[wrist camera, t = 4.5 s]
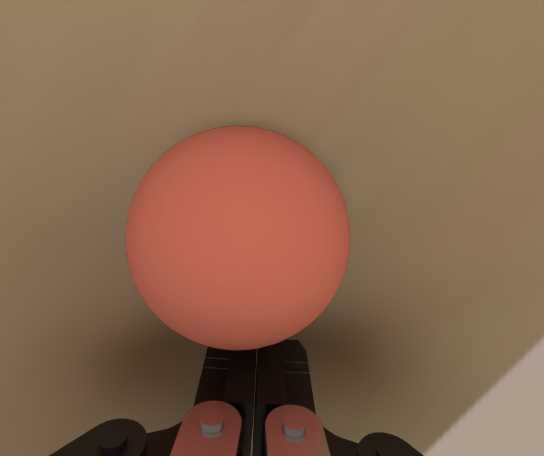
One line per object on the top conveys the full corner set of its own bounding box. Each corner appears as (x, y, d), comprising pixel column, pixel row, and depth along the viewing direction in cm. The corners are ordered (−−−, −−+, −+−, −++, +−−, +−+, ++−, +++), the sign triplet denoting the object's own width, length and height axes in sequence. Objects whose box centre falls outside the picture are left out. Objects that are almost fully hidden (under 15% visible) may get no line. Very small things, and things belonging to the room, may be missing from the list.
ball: (236, 444, 7) (254, 117, 6) (84, 334, 10) (76, 114, 9) (374, 338, 11) (400, 137, 10) (234, 284, 15) (241, 130, 13)
